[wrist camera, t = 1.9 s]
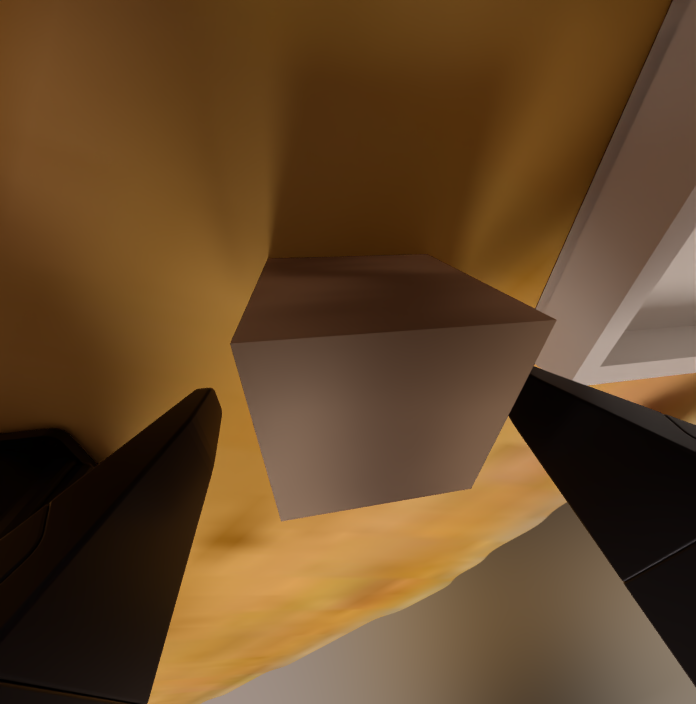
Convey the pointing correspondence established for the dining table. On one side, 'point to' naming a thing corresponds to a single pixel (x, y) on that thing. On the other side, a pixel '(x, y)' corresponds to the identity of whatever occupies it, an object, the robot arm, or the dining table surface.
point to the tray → (635, 234)
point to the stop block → (379, 377)
